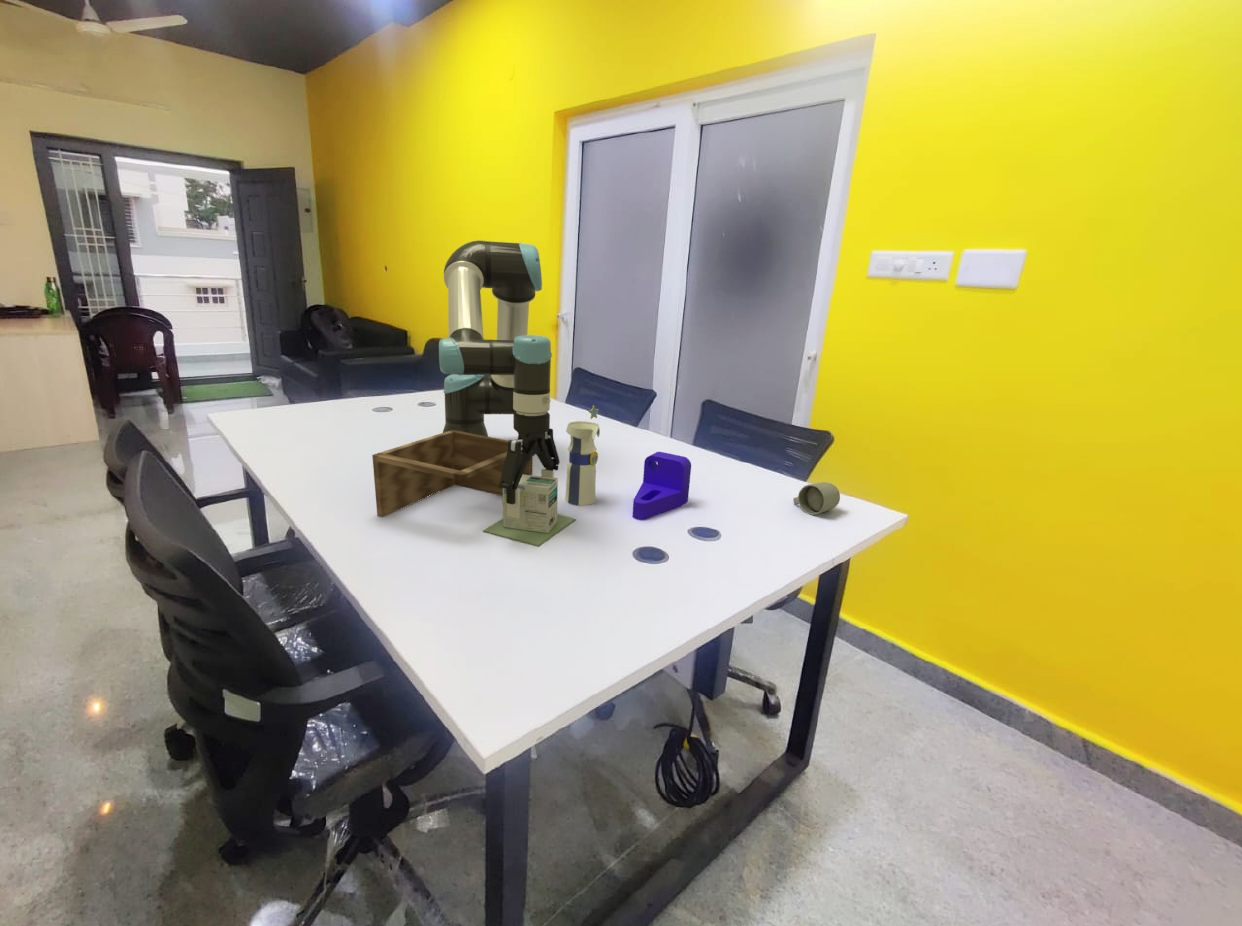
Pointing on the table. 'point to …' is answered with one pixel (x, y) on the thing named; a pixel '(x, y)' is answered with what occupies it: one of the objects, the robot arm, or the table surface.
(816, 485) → the ceramic mug
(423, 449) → the open wooden box frame
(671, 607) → the table surface
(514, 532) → the mat
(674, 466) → the bracket
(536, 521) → the light bulb box
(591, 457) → the belted robe figure
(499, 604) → the table surface
